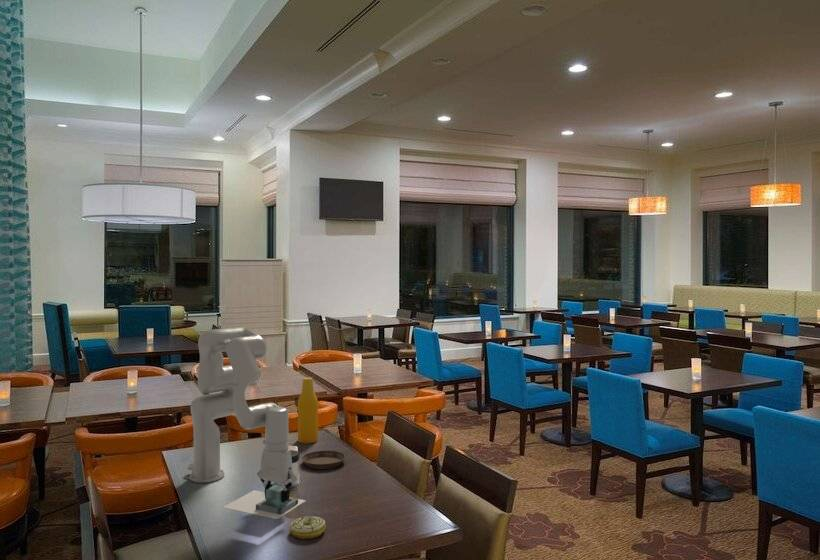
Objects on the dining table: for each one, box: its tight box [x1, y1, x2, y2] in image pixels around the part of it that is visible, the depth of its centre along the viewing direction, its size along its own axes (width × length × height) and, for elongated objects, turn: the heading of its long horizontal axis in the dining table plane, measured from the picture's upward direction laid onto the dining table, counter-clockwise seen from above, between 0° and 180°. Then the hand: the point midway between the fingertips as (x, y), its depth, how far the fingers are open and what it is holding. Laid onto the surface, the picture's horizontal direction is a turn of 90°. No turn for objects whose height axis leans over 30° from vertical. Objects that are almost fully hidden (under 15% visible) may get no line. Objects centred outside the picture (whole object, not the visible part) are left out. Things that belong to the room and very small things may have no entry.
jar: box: [275, 449, 300, 486], centre depth 218 cm, size 9×8×12 cm
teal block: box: [266, 484, 288, 508], centre depth 196 cm, size 5×5×6 cm
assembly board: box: [222, 489, 307, 520], centre depth 198 cm, size 22×16×3 cm
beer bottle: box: [297, 377, 319, 444], centre depth 273 cm, size 9×9×29 cm
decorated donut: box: [288, 515, 327, 540], centre depth 181 cm, size 10×11×4 cm
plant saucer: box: [301, 450, 346, 470], centre depth 243 cm, size 18×18×3 cm
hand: (277, 498), depth 196 cm, fingers open, 6 cm apart
